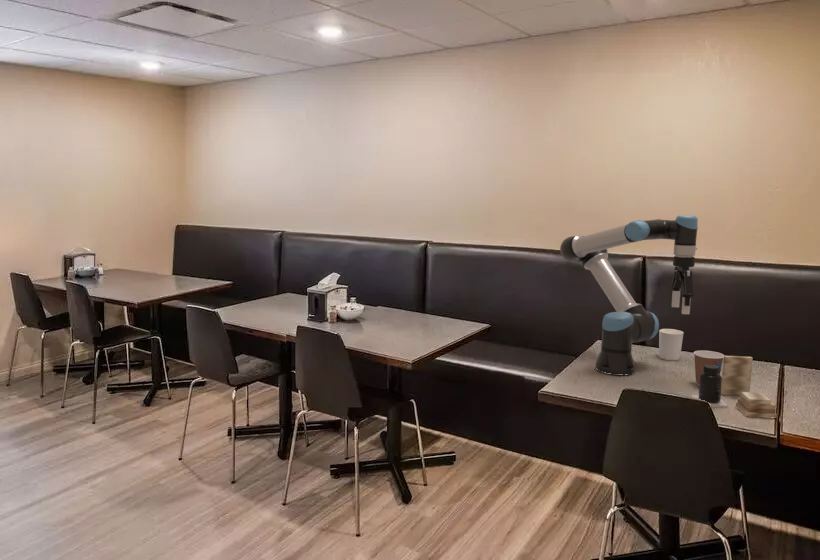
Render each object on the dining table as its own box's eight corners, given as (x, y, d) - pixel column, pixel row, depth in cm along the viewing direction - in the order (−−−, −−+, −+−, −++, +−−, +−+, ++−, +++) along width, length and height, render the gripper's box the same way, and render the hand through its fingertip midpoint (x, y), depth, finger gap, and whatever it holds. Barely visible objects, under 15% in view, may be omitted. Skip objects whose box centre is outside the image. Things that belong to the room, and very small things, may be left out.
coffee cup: (708, 390, 213) (711, 359, 211) (685, 382, 222) (687, 352, 220) (728, 387, 217) (730, 356, 215) (704, 379, 226) (706, 349, 224)
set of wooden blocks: (746, 416, 188) (750, 375, 186) (720, 392, 210) (723, 355, 208) (776, 418, 186) (780, 376, 184) (747, 394, 209) (750, 356, 207)
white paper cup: (685, 361, 250) (687, 334, 248) (662, 361, 250) (664, 334, 249) (675, 354, 260) (677, 328, 258) (653, 354, 260) (655, 328, 258)
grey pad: (699, 406, 197) (699, 403, 197) (691, 397, 206) (691, 394, 206) (727, 407, 196) (727, 405, 195) (718, 398, 204) (718, 396, 204)
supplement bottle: (714, 396, 204) (716, 363, 202) (724, 403, 197) (727, 369, 196) (694, 396, 204) (697, 363, 202) (704, 403, 197) (706, 369, 196)
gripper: (705, 260, 209) (701, 317, 212) (684, 253, 233) (681, 304, 236) (683, 259, 210) (679, 316, 213) (665, 252, 234) (661, 304, 237)
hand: (680, 310), depth 225 cm, fingers open, 13 cm apart
